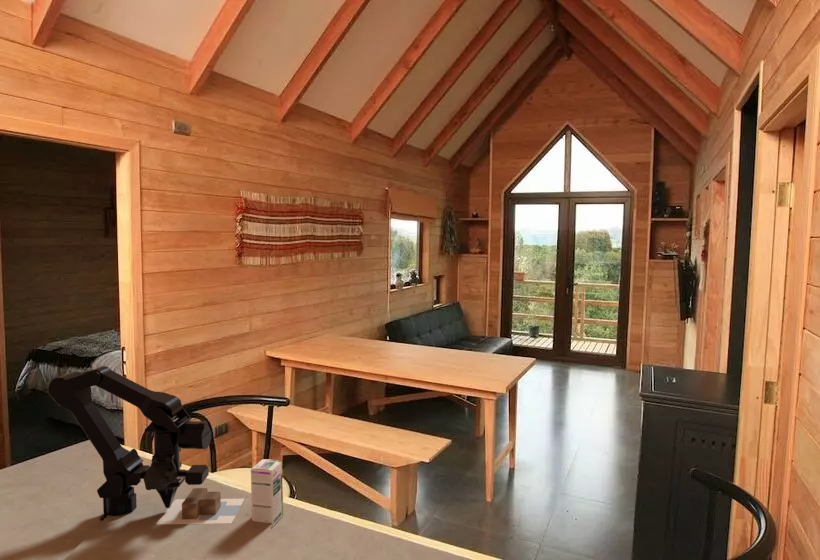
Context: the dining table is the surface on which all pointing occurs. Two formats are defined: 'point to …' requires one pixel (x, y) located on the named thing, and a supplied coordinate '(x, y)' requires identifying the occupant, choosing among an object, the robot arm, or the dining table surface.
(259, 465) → the syrup box
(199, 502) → the walnut T block
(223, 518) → the board
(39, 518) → the dining table surface
